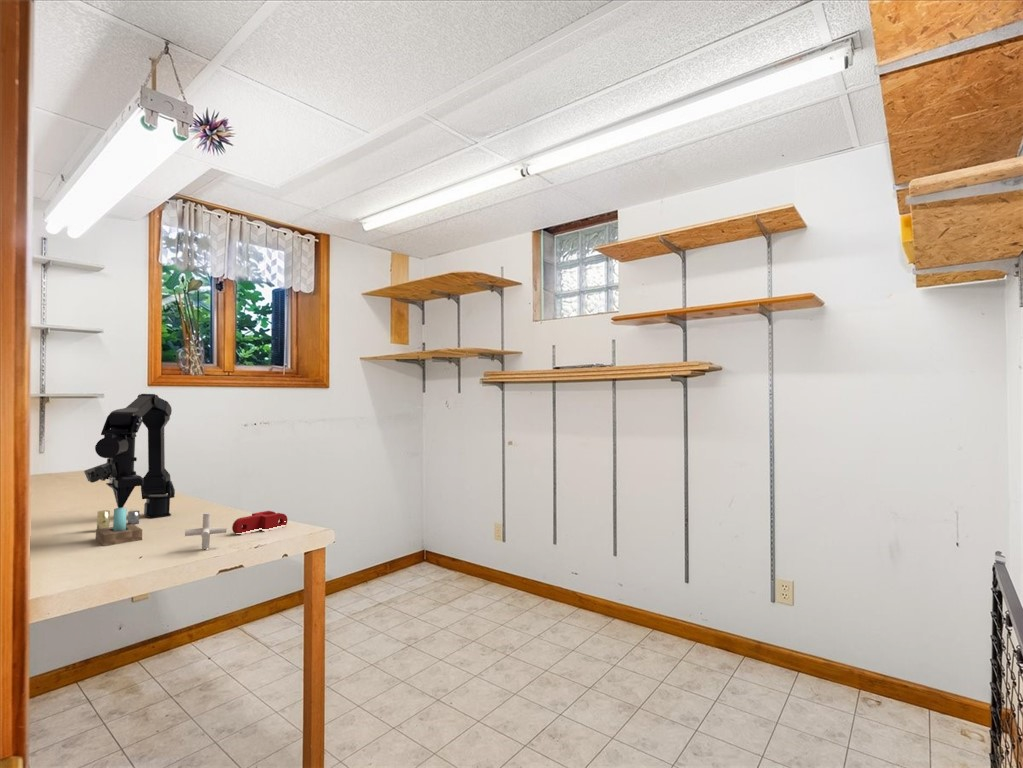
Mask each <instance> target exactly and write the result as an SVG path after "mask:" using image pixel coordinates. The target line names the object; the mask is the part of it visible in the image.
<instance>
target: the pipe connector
mask: <svg viewBox="0 0 1023 768" xmlns="http://www.w3.org/2000/svg"><path fill="white" fill-rule="evenodd" d="M211 515H212V514H211V512H210V511H209V512H203V513H202V527H201V528H200V527H199V528H191V529H190V528H188V529H185V531H184V537H192V536H194V537H195V536H201V550H202V549H207V548H209V549H210V543H211V542H210V541H211V540H210V538H211V537H210V535H214V534H216V535H217V534H227V529H228V528H227V526H213V527H211Z"/></svg>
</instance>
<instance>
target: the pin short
mask: <svg viewBox="0 0 1023 768" xmlns="http://www.w3.org/2000/svg"><path fill="white" fill-rule="evenodd" d="M130 524H134V525H135V526H136V525H138V524H140V510H137V509H136V510H129V511H127V525H130Z"/></svg>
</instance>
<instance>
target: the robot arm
mask: <svg viewBox="0 0 1023 768" xmlns="http://www.w3.org/2000/svg"><path fill="white" fill-rule="evenodd" d="M172 410H173V409H172V405H171V404H170V403H169V402H168V400H166V399H163V398H160V397H159V396H158V394H155V393H139V394H138V396H137V398H135V399H134V400H133V401H132V402H131V403H129V405H127V406H126V407H124V408H118V409H115V410H112V411H110V413H109V414H108V416H106V418H105V419H106V420H105V422H104V424H103V428H102V430H101V433H100V435H101V436H103V438H101V439H99V440H98V441H97V442H96V444H95V447H94V450H95V453H96V455H98V457H100V458H103V459H106V463H102V464H100V465H97V466H94V467H91V468H88V469H85V470H84V471H83V472H84V475H85V476H86V479H87V481H88V482H89V483H96V482H98V481H101V482H102V481H106V480H109V482H106V483H105V484H106V486H108V487H109V488H110V489H111V490H112V491H113V495H114V498H115V502H116V506H117V508H124V506H125V505H126V504H127V503H126V502H127V501H128V499H129V497H130V496H131V494H132V493H133V491H134V489H135V488H136V487H140V492H141V500H146V502H145V503H144V505H143V506H144V508H143V516H145V517H146V518H149V519H155V518H161V517H170V516H172V513H170V508H171V503H170V502H171V499H172V498H175V494H176V490H175V486H174V484H173V481H171V474H170V472H168V470H167V469H166V468H165V467H166V465H165V464H166V462H165V460H166V459H165V453H166V452H165V427H166V425H167V424H168V423H169V421H170V420H171V415H172ZM142 424H143V425H144V426H145V427H146V428H147V452H148V453H147V460H148V461H147V463H148V464H147V465H148V466H147V467H148V471H147V472H146V474H144V476H143V477H142V475H138V474H137V471H135V462H137V460H138V459H137V457H136V456H135V452H136V438H137V433H138V432H139V429H140V427H141V425H142Z"/></svg>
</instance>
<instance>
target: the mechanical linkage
mask: <svg viewBox="0 0 1023 768" xmlns="http://www.w3.org/2000/svg"><path fill="white" fill-rule="evenodd" d="M284 521H286V522H284ZM287 524H288V517H287V515H286V514H285V513H282V512H281V513H280V512H275V511H273V510H264V511H258V512H254V513H251V515H249V516H243V517H240V518H237V519H236V520H234V521H233V524H232V526H231V529H232V532H233V533H234V534H235V533H242V532H246V531H250V530H254V529H259V528H262V529H269V528H273V527H277V526H281V525H286V526H287Z"/></svg>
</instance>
